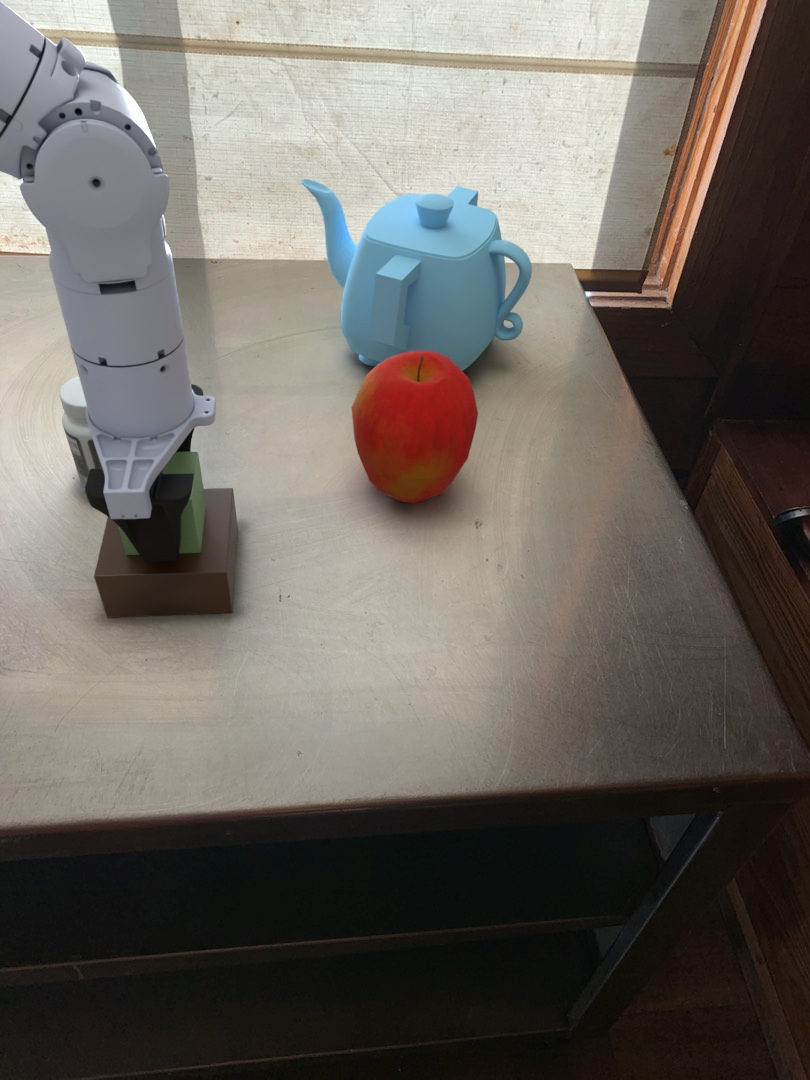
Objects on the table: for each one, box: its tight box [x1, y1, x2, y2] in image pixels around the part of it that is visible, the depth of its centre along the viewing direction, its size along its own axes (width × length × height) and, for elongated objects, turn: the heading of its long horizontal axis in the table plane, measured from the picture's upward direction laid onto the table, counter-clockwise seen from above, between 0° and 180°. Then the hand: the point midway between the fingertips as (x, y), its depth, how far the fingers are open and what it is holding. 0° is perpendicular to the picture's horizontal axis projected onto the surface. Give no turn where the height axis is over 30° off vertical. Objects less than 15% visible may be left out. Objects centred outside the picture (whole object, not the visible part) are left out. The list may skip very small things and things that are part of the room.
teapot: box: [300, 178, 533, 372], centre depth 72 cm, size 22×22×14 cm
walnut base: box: [93, 487, 239, 618], centre depth 53 cm, size 8×8×4 cm
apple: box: [351, 351, 479, 504], centre depth 58 cm, size 9×9×12 cm
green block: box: [119, 451, 206, 555], centre depth 50 cm, size 5×5×5 cm
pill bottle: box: [59, 375, 102, 492], centre depth 57 cm, size 5×5×8 cm
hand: (166, 523), depth 51 cm, fingers open, 5 cm apart
